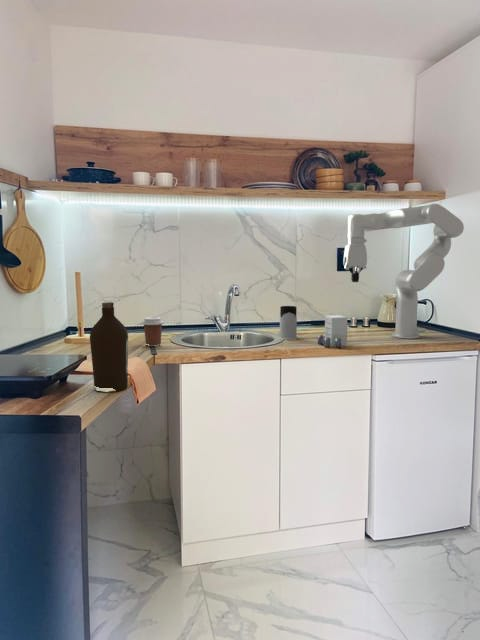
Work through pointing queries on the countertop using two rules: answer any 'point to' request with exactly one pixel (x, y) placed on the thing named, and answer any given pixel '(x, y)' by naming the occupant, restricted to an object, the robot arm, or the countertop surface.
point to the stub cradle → (328, 342)
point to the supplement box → (336, 329)
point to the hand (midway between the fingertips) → (355, 281)
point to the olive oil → (109, 351)
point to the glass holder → (288, 322)
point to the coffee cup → (153, 330)
